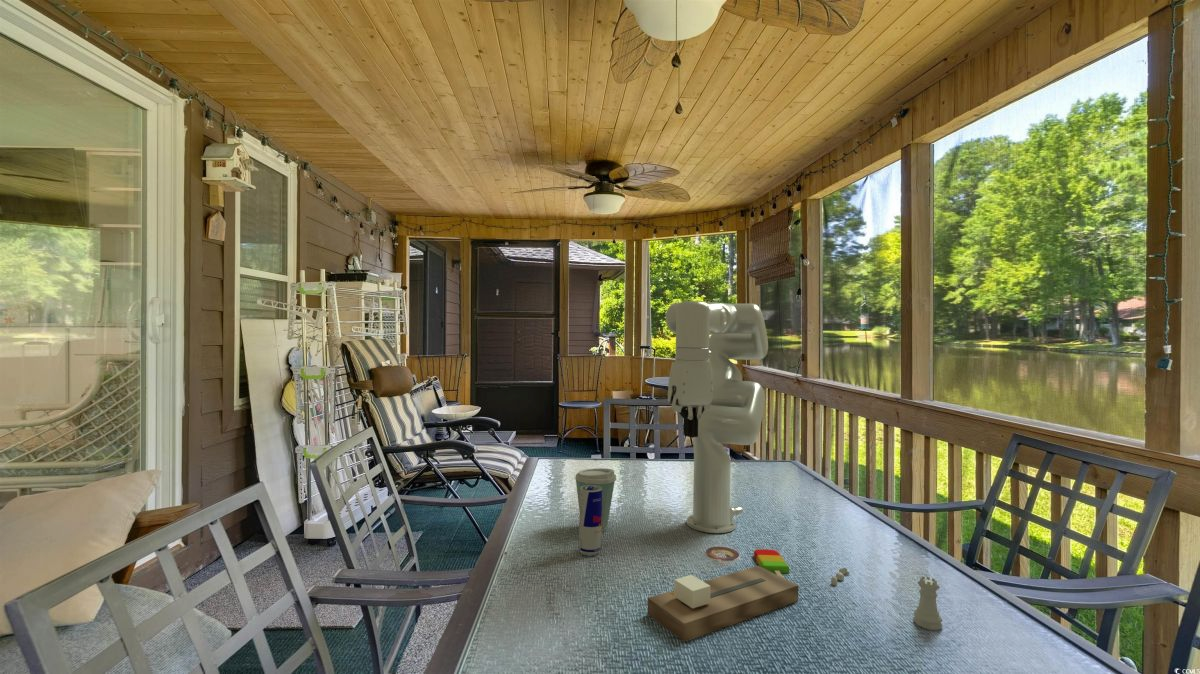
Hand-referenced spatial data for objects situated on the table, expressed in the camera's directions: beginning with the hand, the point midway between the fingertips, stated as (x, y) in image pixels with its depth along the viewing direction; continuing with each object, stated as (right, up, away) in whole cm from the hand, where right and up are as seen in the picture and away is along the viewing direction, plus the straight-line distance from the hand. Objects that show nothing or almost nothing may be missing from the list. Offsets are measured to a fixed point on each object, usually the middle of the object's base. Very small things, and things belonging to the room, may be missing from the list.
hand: (690, 436), depth 125 cm
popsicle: (+17, -28, -7) cm, 33 cm away
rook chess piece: (+37, -28, -29) cm, 55 cm away
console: (+2, -27, -24) cm, 36 cm away
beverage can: (-23, -27, +1) cm, 35 cm away
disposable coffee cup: (-22, -27, +16) cm, 38 cm away
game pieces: (+29, -28, -11) cm, 42 cm away
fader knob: (-4, -24, -28) cm, 37 cm away
